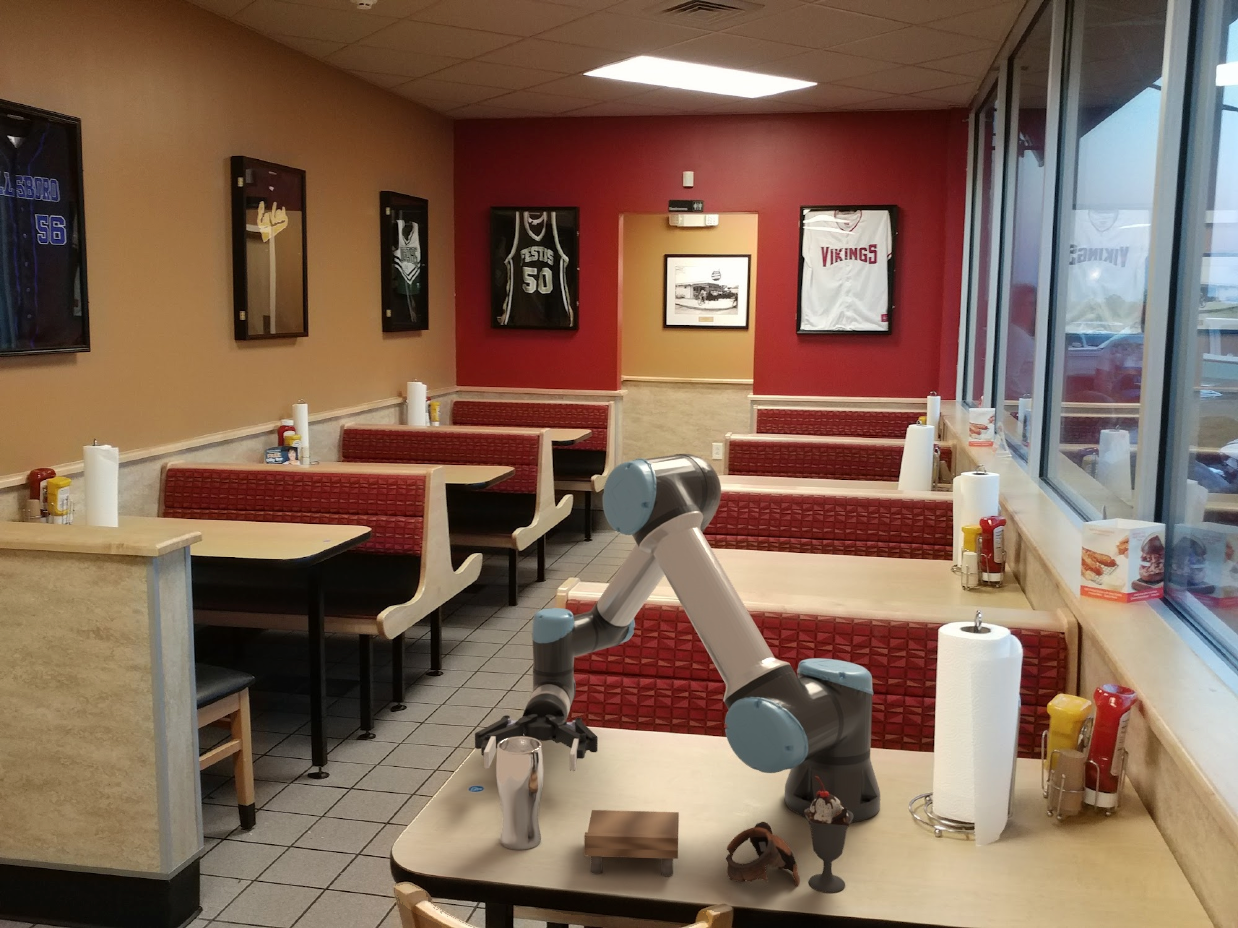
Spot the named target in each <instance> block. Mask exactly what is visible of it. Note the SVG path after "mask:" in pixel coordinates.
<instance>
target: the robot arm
mask: <svg viewBox="0 0 1238 928" xmlns="http://www.w3.org/2000/svg"><path fill="white" fill-rule="evenodd" d="M721 497H722V486H721V480H720V478H719V475H718V473H717V471H716V470H715V469H714V467H713V466H712V465H711V464H710V462H708V460H707V461H706V459H704V458H702V457H700V456H698V455H695V454H690V453H677V454H672V455H664V456H658V457H657V456H656V457H651V458H644V457H643V458H642V457H640V458H635V459H633V460H630V461H624V462H622V463H619V464H618V465H616V467H614V468H613V469H612V470H611V472H610V473H609V474H608V476H607V478H606V480H605V482H604V486H603V494H602V508H603V509H602V510H603V512H604V513H603V514H604V516H605V519H606V521H607V523H608V524H609V526H610V527H611V528H612V529H613V531H616V532H617V533H620V534H622V535H625V536H632V539H633V540H634V541H635V544H634V546H633V548H632V550H630V553H628V556H626V559H625V560H624V562H623V563H622V564H621V566H620V567H619V568H618V571H617V572H616V574H615V575H614V576H613V577H612V579H611V581H610V583H608V585H607V587H606V588H605V590H604V591H603V593H602V595H601V596H600V597H599V599H598V600H597V602H596V603H595V604H594V606H593V607H592V609H590V610H589V611H586V612H581V613H579V614H578V613H577V614H573V612H572V611H571V610H569V609H566V608H562V607H561V608H560V607H552V608H543V609H540V610H538V611H536V612H535V613H534V615H533V619H532V626H531V627H532V629H531V638H532V639H531V640H532V661H533V662H532V664H533V665H532V692H531V694H530V697H529V699H528V701H527V704H526V705H525V709H524V711H523V713H522V717H520V718H518V719H517V720H515V719H514V720H513V719H512V718H511V716H510V715H506V714H505V715H503V716H502V717H501V718H500V719H499V720H498V721H496V722H493V723H492V724H490V725H488V726H486V727H484V728H482V729H480V730H479V731H475V733H474V749H476V750H480V749H481V750H480V751H481V752H480V754H481V756H483V769H490V766H491V765H492V762H493V760H494V757H495V755H496V754H497V745H498V743H499V742H500V741H502V740H504V739H507V738H511V737H520V736H523V737H532V738H535V739H538V740H539V741H540V742H541V741H543V742H547V741H552V742H553V743H555V744H560V743H561V744H563V745H564V746H566V747H568V748H569V749H571V750H570V753H569V771H570V772H574V771H576V767H577V764H578V763H577V762H578V759H579V760H580V759H581V760H583V759H584V758H585V756H586V754H587V751H589V752H590V753H597V752H598V751H599V750H598V747H599V746H598V741H599V740H598V735H596V734H595V733H594V732H593V730H591V729H590V728H589V727H588V726H587V725H586V724H585V723H584V722H583V718H582V717H575V718H574V720H572V721H567V719H568V716H569V713H570V710H571V706H572V703H573V702H574V699H575V696H576V681H575V677H574V670H575V667H574V665H575V658H576V657H580V656H584V655H588V654H590V653H593V652H598V651H601V650H605V649H607V648H614V647H617V646H619V645H621V644H623V643H625V642H628V641H629V640H630V639H631V638H632V636H633V635H634V633H635V627H636V623H635V617H636V615H637V614H638V613H639V611H640V610H641V608H643V606H644V604H645V603H646V602H647V601H648V599H649V598H650V596H651V594H652V593H653V592H654V590H655V589H656V588H657V586H658V585H659V583H661V581H662V579H663V578H664V577H665V578H666V579H667V582H668V583H669V586H670V587H671V589H672V590H673V591H674V594H675V595H676V598H677V599H678V601H679V603H680V605H681V607H682V608H683V610H684V612H685V614H686V616H687V617H688V619H689V621H690V623H691V624H692V627H693V628H694V630H695V631H696V633H697V635H698V637H699V639H700V641H701V642H702V644H703V646H704V648H705V649H706V651H707V653H708V654H709V657H710V659H711V660H712V662H713V664H714V665H715V668H716V669H717V671H718V673H719V675H720V676H721V679H722V680H723V681H724V684H725V692H724V694H723V695H724V696H723V699H722V700H723V702H724V704H725V706H726V708H727V710H728V711H727V712H726V715H725V718H724V724H725V726H726V727H725V729H724V731H725V736H726V740H727V743H728V744H729V746H730V748H731V750H732V751H733V753H734V754H735V755H736V757H737V758H738V759H739V760H740V761H741V762H742V763H744V764H745V765H746V766H748V767H749V768H751V769H753V770H756V771H759V772H761V773H765V774H776V773H780V772H783V771H786V770H789V773H788V775H787V777H786V781H785V783H784V802H785V805H786V807H788V808H789V809H790V810H791V811H793V812H795V813H796V814H798V815H799V816H802V817H805V816H804V810H805V809H807V808H810V806H811V804H812V801H814V800H815V799H817V792H818V791H821V784H822V783H823V786H824V789H825V791H827V792H828V793H829V794H831V795H834V796H835V797H836V798H837V799H838V800H839V801H840V803H841V806H842V807H843V808H845V807H847V810H848V811H850V812H852V813H853V820H852V822H851V823H857V822H861V821H865V820H868V819H870V818H873V817H874V816H876V815H877V814H878V813H879V811H880V808H881V791H880V787H879V783H878V781H877V777H876V774H875V771H874V767H873V762H872V761H871V747H872V746H871V743H872V720H873V719H872V716H873V715H872V714H873V695H874V691H873V677H872V673H871V672H870V671H869V670H868V669H867V668H866V667H864V666H862V665H859V664H856V663H853V662H849V661H845V660H840V659H832V658H818V657H817V658H814V657H813V658H806V659H803V660H801V661H799V663H798V667H797V669H796V672H795V670H794V668H793V667H792V666H791V665H792V664H790V662H787V661H784V660H780V659H778V658H776V657H775V656H774V654H773V652H772V651H771V649H770V647H769V645H768V644H767V642H766V640H765V639H764V637H763V635H762V633H761V632H760V630H759V628H758V626H757V625H756V623H755V621H754V620H753V617H752V615H751V614H750V613H749V611H748V609H747V608H746V606H745V603H744V602H743V600H742V599H741V597H740V595H739V594H738V592H737V590H736V588H735V587H734V584H733V583H732V582H731V580H730V578H729V576H728V574H727V573H726V571H725V570H724V568H723V566H722V564H721V563H720V561H719V558H718V557H717V556H716V554H715V552H714V550H713V549H712V547H711V545H710V544H709V542H708V540H707V539H706V537H705V534H703V532H704V531H705V530H706V528H707V527H708V526H709V525H710V522H711V521H712V520H713V518H714V517H715V515H716V512H717V511H718V508H719V505H720V502H721ZM815 776H817V777H819V779H820V780H821V782H822V783H821V784H820V782H819V781H818V780H817V779H815ZM823 786H822V787H823ZM822 791H824V790H823V789H822Z"/></svg>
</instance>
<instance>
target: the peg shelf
mask: <svg viewBox="0 0 1238 928" xmlns="http://www.w3.org/2000/svg"><path fill="white" fill-rule="evenodd" d="M679 817H680V813H679V812H678V811H677V812H676V811H645V810H644V811H641V810H640V811H638V810H608V809H607V810H606V809H605V810H604V809H602V810H601V809H591V812H590V818H589V823H588V827H587V831H586V832H584V834H583V835H584V837H583V838H584V839H583V841H584V845H583V847H584V853H583V854H584V857H590V858H589V859H590V861H589V862H590V869H589V870H590V873H591V874H593V875H600V874H601V873H602V872H603V861H602V860H603V857H604V858H605V857H606V858H609V857H611V858H638V859H639V858H640V859H661V875H662V876H663V877H671V876H673V874H674V873H673V872H674V859H679V826H680V825H679V824H680V823H679V821H680V818H679Z"/></svg>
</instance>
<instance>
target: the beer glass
mask: <svg viewBox="0 0 1238 928" xmlns="http://www.w3.org/2000/svg"><path fill="white" fill-rule="evenodd" d="M543 758H544V757H543V744H542V742H541V741H540V740H538V739H535V738H532V737H523V736H520V737H511V738H507V739H504V740H502V741H500V742H499V743H498V745H497V749H496V763H495V764H496V765H495V766H496V767H495V769H496V770H495V774H496V775H495V776H496V785H497V792H498V797H499V802H500V807H501V808H500V809H501V813H502V827H501V833H500V839H499V841H500V844H501V845H502V846H503V848H506V849H509V850H512V851H524V850H525V851H526V850H529V849H530V850H531V849H533V848H536V847H537V846H538V845H540V843H541V841H542V834H541V829H540V825H539V810H540V804H541V798H542V793H543V785H544V759H543Z"/></svg>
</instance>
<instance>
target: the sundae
mask: <svg viewBox="0 0 1238 928" xmlns="http://www.w3.org/2000/svg"><path fill="white" fill-rule="evenodd" d="M815 779H817V780H818V781H819V782H820V784H821V783H822V782H821V780H820V779H819V777H817V776H815ZM822 786H823V783H822V784H821V791H818V792H817V799H815V800H814V801H812V804H811V806H810V808H807V809H805V810H804V816H803V817H805V818H806V819H807V821H808V824H809V828H810V835H811V836H810V838H811V844H812V849H813V852H814V854H816V856H817V857H818V858H819V859H820V860H822V864H823V869H822V873H817V874H815V875H812V876H810V878H809V879H808V884H809V886H810V887H811V889H812V888H813V889H814V890H816V891H818V892H822V893H827V894H829V893H830V894H833V893H838V892H841V891H843V889H845V888H846V882H845V881H844V880H843V879H842V877H840V876H837V875H834V874H833V871H832V870H833V869H832V865H833V862H834V861H836V860H837V859H838V858H840V856H842V854H843V850H844V847H845V842H846V836H847V831H848V827H849V826H850V825H851V823H853V822H852V820H853V813H852V812H850V811H848V810H847V807H845V808H843V807H842V806H841V803H840V801H839V800H838V799H837V798H836V797H835V796H834V795H831V794H829V793H828V792H827V791H825V789H824V786H823V787H822ZM822 789H823V790H824V791H822Z"/></svg>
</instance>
